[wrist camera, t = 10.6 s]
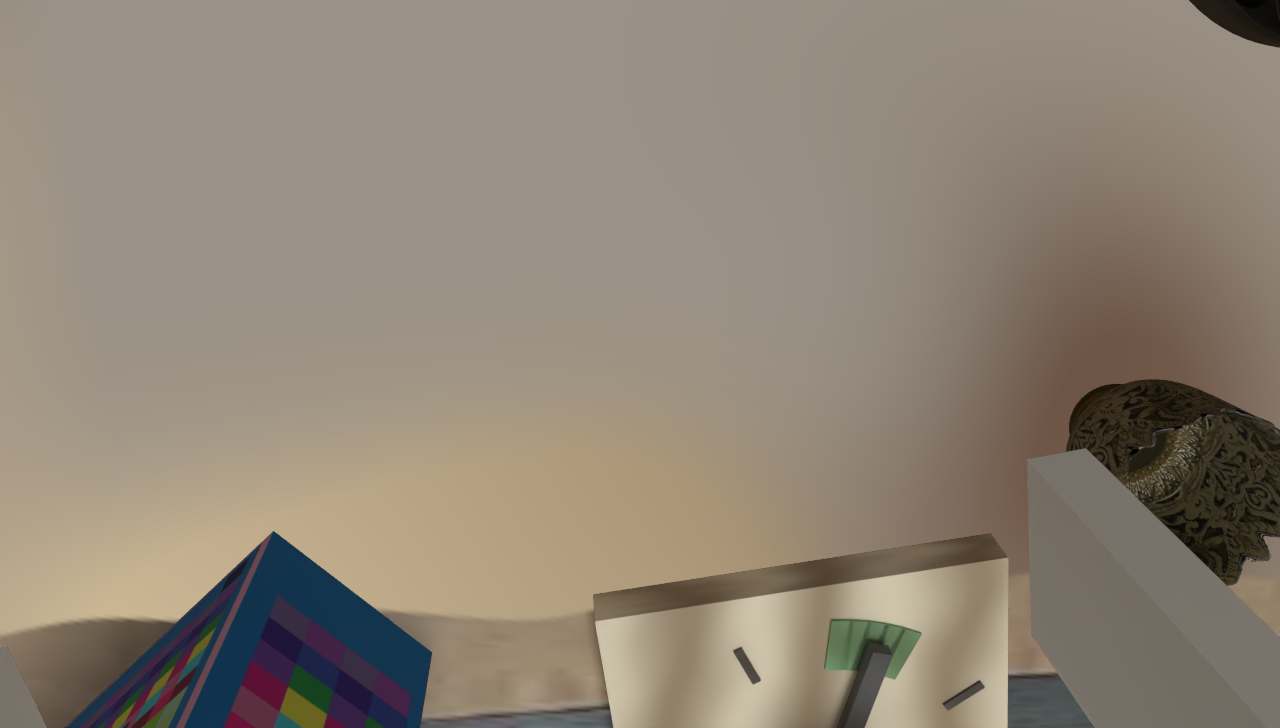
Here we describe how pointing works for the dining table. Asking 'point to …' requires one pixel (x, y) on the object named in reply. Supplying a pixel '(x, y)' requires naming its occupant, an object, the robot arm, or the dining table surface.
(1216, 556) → the cup
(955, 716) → the tuner board
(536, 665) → the dining table surface
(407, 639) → the box
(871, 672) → the peg
